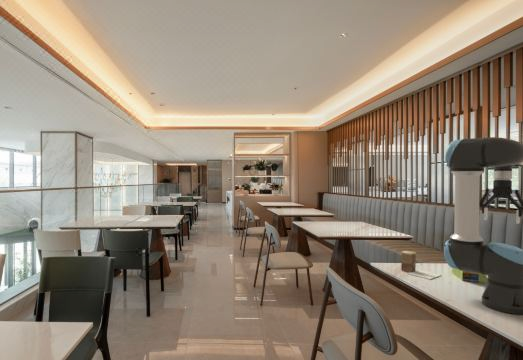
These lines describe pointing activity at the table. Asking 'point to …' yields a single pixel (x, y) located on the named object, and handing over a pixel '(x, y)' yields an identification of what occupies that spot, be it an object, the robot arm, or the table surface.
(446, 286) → the table surface
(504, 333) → the table surface
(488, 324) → the table surface
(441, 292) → the table surface
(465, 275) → the protein box
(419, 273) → the grey mat
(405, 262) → the bronze block
